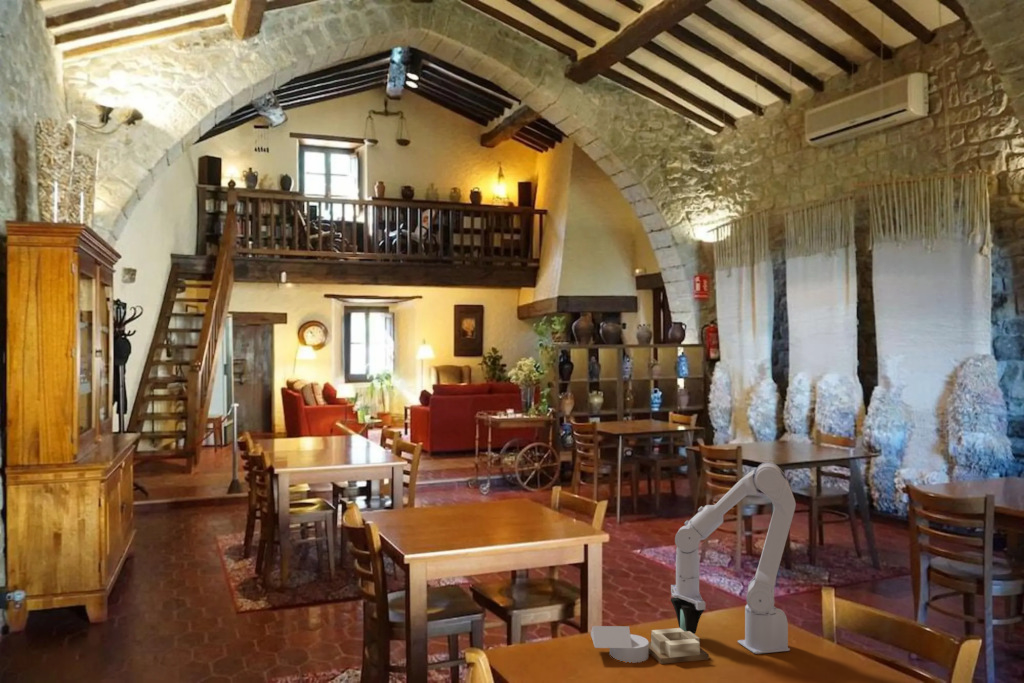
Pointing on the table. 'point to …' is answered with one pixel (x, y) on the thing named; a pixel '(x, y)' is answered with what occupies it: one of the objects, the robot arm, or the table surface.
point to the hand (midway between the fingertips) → (687, 630)
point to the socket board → (675, 646)
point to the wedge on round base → (620, 643)
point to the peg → (682, 621)
